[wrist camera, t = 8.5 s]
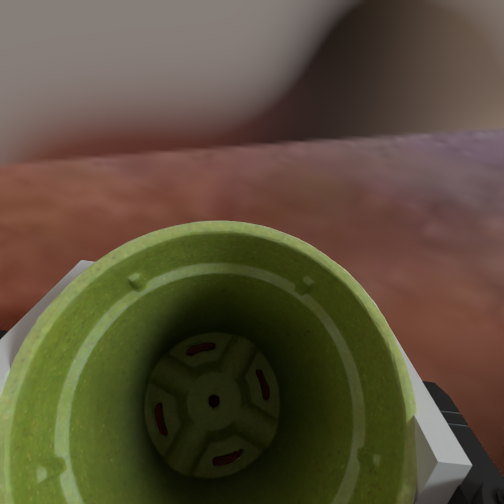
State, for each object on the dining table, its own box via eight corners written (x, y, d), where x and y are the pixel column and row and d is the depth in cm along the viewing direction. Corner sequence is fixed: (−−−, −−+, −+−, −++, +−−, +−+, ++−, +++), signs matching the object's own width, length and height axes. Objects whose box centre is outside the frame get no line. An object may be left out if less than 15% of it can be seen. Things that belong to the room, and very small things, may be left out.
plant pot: (84, 330, 16) (-34, 275, 8) (273, 273, 18) (326, 184, 10) (129, 567, 14) (18, 832, 5) (347, 468, 16) (498, 554, 8)
